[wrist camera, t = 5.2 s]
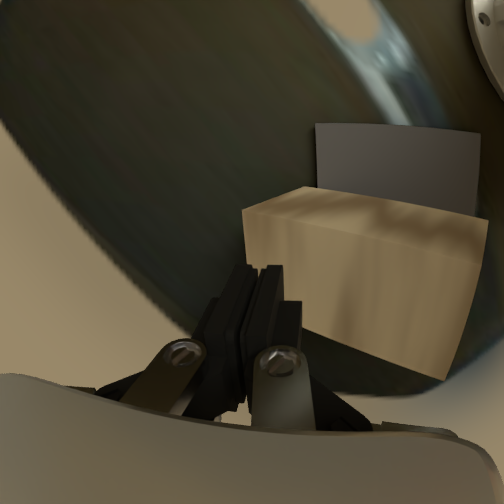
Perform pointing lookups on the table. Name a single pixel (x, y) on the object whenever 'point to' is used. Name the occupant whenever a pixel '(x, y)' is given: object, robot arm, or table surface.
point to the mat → (400, 163)
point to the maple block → (373, 271)
